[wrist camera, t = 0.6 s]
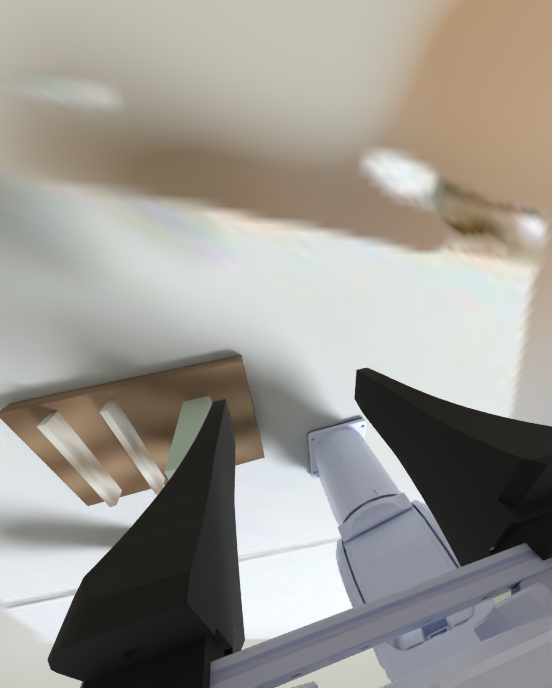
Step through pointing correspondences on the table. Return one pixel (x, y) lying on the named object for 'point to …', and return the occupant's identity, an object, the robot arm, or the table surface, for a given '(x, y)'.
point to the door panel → (187, 431)
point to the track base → (129, 427)
